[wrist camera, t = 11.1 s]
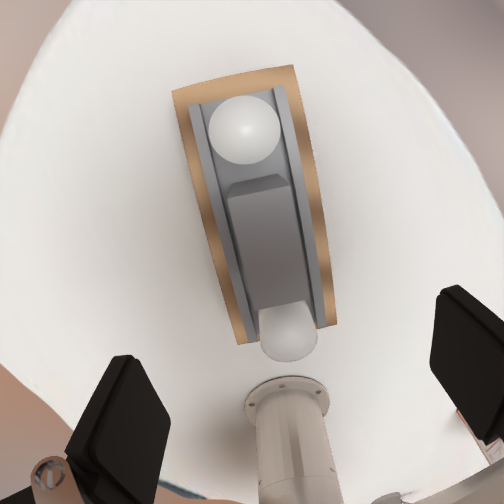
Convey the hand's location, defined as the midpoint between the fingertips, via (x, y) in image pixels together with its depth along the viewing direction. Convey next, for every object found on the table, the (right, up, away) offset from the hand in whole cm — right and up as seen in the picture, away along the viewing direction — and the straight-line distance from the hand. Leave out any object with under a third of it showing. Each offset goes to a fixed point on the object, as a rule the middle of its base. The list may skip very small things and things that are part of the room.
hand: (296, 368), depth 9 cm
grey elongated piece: (0, +6, +17) cm, 18 cm away
